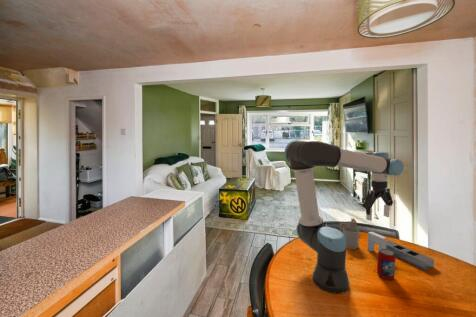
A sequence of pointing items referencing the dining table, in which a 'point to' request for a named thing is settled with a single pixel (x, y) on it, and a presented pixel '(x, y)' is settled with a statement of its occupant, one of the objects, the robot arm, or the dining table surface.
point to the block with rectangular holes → (410, 255)
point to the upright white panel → (376, 241)
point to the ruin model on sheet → (347, 224)
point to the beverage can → (386, 264)
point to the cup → (351, 237)
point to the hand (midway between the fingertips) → (377, 218)
